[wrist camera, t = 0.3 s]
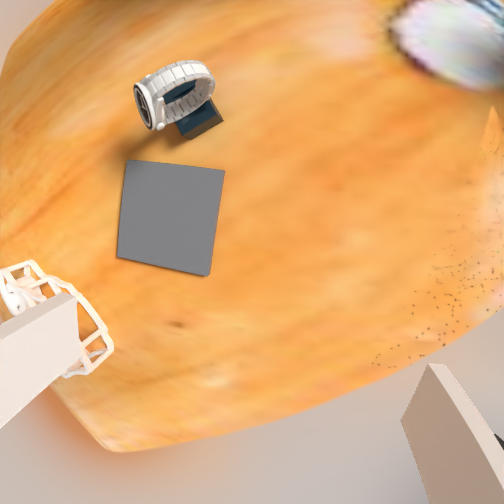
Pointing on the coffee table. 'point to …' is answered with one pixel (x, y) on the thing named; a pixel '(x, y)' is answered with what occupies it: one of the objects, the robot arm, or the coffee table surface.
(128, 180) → the mat
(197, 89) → the watch
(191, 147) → the coffee table surface
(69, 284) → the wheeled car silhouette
